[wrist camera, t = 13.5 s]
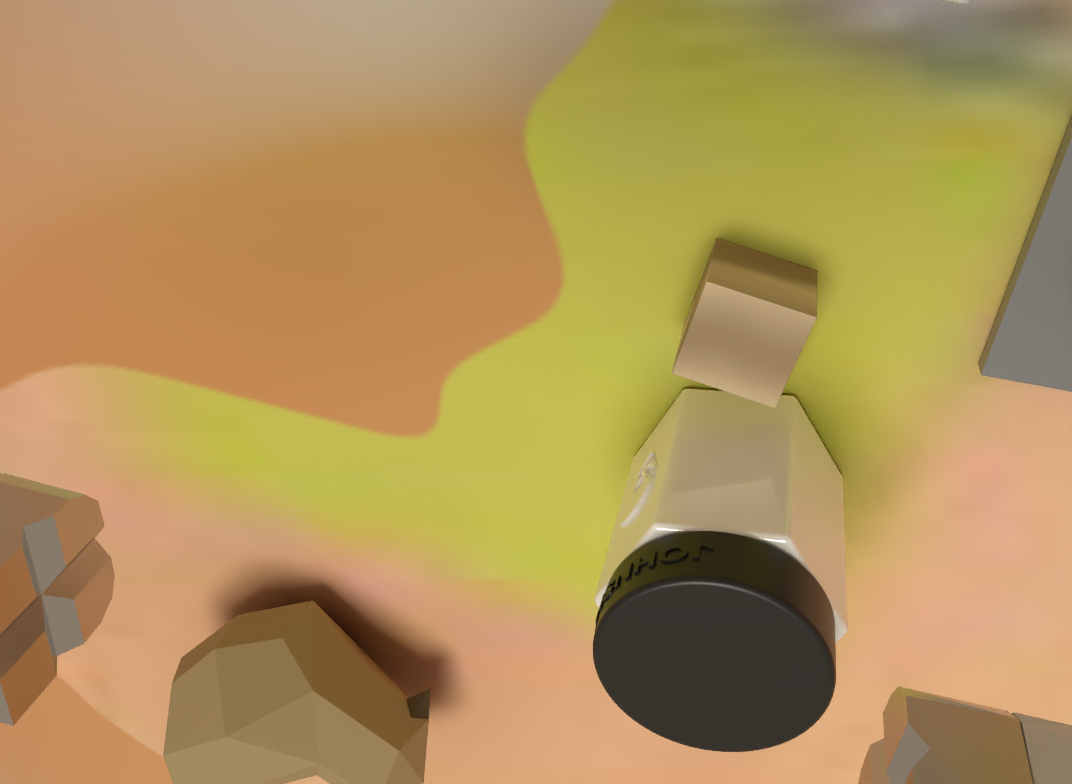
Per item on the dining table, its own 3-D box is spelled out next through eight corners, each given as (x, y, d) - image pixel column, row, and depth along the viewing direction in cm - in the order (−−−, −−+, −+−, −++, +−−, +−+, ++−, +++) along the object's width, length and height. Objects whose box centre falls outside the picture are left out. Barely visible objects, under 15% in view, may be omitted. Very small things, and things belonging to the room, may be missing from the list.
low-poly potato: (184, 626, 59) (241, 816, 58) (71, 674, 48) (139, 909, 47) (418, 550, 57) (480, 746, 56) (355, 583, 46) (431, 827, 45)
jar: (708, 344, 40) (671, 529, 30) (878, 441, 41) (897, 654, 31) (605, 487, 45) (544, 686, 35) (758, 573, 46) (740, 792, 36)
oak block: (716, 237, 38) (706, 281, 35) (817, 270, 38) (816, 317, 34) (684, 324, 40) (671, 373, 37) (778, 355, 40) (775, 407, 37)
